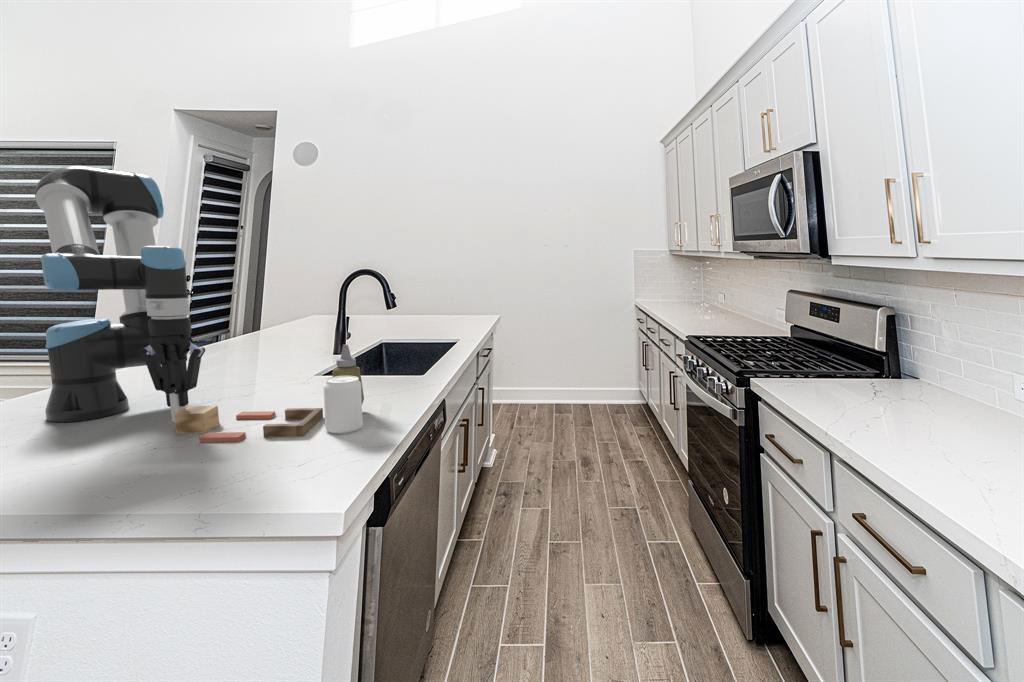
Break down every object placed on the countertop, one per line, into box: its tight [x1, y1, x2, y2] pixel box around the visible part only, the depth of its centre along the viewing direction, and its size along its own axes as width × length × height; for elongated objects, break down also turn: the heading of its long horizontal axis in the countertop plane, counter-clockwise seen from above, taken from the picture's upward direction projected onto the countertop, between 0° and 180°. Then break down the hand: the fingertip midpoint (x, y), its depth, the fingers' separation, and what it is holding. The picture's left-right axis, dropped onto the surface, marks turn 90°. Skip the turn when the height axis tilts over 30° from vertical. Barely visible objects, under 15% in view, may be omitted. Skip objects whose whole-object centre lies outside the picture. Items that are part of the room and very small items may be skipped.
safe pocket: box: [262, 407, 324, 438], centre depth 105 cm, size 8×13×2 cm, turn 5°
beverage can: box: [322, 376, 363, 435], centre depth 103 cm, size 8×8×12 cm
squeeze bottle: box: [331, 344, 365, 405], centre depth 114 cm, size 8×8×18 cm
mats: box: [198, 410, 276, 443], centre depth 104 cm, size 8×18×1 cm, turn 5°
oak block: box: [174, 405, 220, 434], centre depth 103 cm, size 6×6×4 cm
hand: (179, 419), depth 102 cm, fingers closed
